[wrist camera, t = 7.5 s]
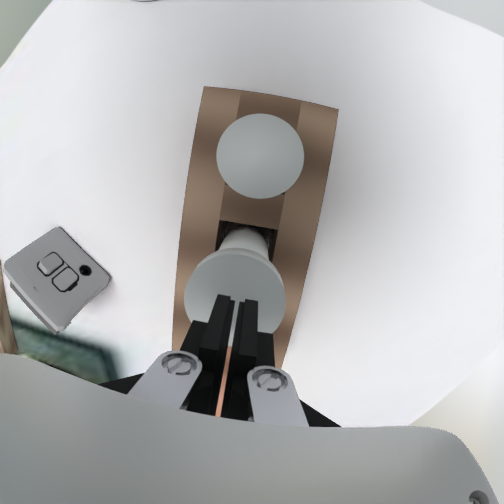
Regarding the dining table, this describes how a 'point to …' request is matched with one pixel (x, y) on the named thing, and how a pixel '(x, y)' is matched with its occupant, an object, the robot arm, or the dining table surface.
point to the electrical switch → (55, 278)
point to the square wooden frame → (5, 324)
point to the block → (252, 209)
